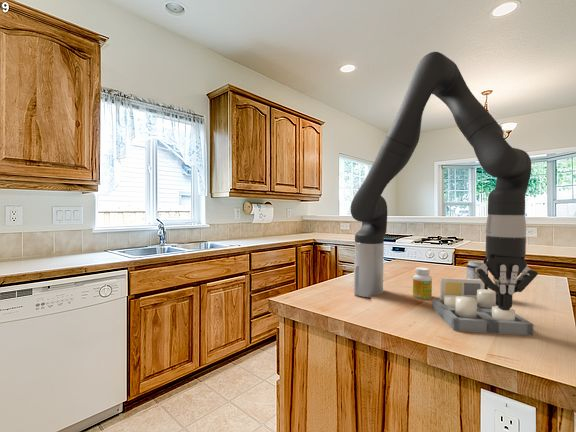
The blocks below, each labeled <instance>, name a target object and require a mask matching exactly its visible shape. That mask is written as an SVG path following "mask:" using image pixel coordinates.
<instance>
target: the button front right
mask: <svg viewBox="0 0 576 432" xmlns="http://www.w3.org/2000/svg"><path fill="white" fill-rule="evenodd" d="M515 314H516V309H514V308H512V307H511V308H510V310H501V309H500V308H498V306H493V307H492V317H493V318H494V319H495V320H504V321H515Z"/></svg>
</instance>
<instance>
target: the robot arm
mask: <svg viewBox="0 0 576 432" xmlns="http://www.w3.org/2000/svg"><path fill="white" fill-rule="evenodd" d="M431 95H434V96H435V97H437V98H438V99H439V100H440V101H441V102H443V103H444V105H446V107H447V108H448V109H449V110H450V112H451V114H452V116H453V120H454V122H455V124H456V126H457V128H458V130H459V131H460V132H461V134H462V135H463V136H464V138H465V139H466V141H467V142H468V143H469V144H470V146H471V147H472V148H473V150H474V154H475V156H476V159H477V161H478V163H479V164H480V166H481V168H482V169H483V171H484V172H486V173H487V174H488V175H489V176H490V177H493V178H496V181H495V188H494V189H493V190H492V191H490V192H489V193H488V198H487V219H486V224H485V225H486V226H485V258H484V259H483V261H484V264H483V265H481V266H480V267H475V268H474V269H473V270H474V272H475V273H476V274H477V275H478V277H479V278H480V279H481V280H482V282H483V283H484V284H485V285H486V286H487V288H488V290H492V291H495V292H496V305H497V306H498V308H500V309H501V310H510V308H511V309H512V307H513V295H514V294H515V293H522V292H523V291H524V290H525V289H526V288H527V287H528V286H529V285H530V284H531V282H532V281H533V280H535V278H536V277H537V276H538V275H539V273H538V271H537V270H534V269H531V267H529V266H528V263H527V261H526V259H525V257H526V253H527V250H526V249H527V245H526V244H527V221H526V194H527V191H528V187H529V182H530V177H531V175H532V160H531V157H530V155H529V153H527V151H525V150H523V149H520V148H517V147H516V148H515V147H512V145H510V144H509V143H508V142H507V140H506V139H505V137H504V130H503V128H502V126H501V125H500V124H499V123H498V122H497V120H496V119H495V118H494V117H493V115H492V114H490V111H488V110H487V109H486V107H485V106H484V105H483V104H481V102H480V101H479V100H478V99H477V98H476V96H475V95H474V94H473V93H472V91H471V90H470V88H469V86H468V85H467V83H466V81H465V79H464V77H463V75H462V73H461V71H460V69H459V67H458V65H457V64H456V62H455V61H453V60H452V59H450V58H449V57H447V56H446V55H445V54H443V53H442V52H439V51H431V52H429V53H427V54H426V55H424V56H423V57H422V58H421V59H420V61H419V62H418V63H417V65H416V66H415V69H414V70H413V73H412V75H411V77H410V81H409V84H408V86H407V89H406V91H405V94H404V97H403V98H402V99H403V100H402V101H401V104H400V106H399V108H398V111H397V112H396V115H395V118H394V120H393V121H392V124H391V125H390V128H389V130H388V132H387V134H386V136H385V137H384V140H383V142H382V144H381V145H380V148H379V150H378V152H377V155H376V157H375V158H374V161H373V163H372V165H371V167H370V170H369V171H368V173H367V175H366V177H365V178H364V180H363V182H362V184H361V185H360V187H359V189H358V190H357V192H356V193H355V195H354V197H353V198H352V201H351V203H350V208H349V209H350V214H351V217H352V218H353V220H355V221H357V222H360V223H361V227H360V229H359V230H358V231H357V232H356V233H355V235H354V263H353V292H354V293H353V294H354V296H358V297H362V298H371V296H380V295H382V294H384V257H385V256H384V250H385V249H384V248H385V246H384V245H385V244H384V239H385V236H386V234H387V228H388V227H387V226H388V204H387V201H386V199H385V197H383V192H384V191H385V189H386V187H388V184H389V183H390V182H391V181H392V180H394V178H395V177H396V176H397V175H398V174H399V173H400V172H401V171H402V170H403V169H404V167H406V165H407V164H408V163H409V161H410V159H411V158H412V156H413V154H414V152H415V150H416V148H417V146H418V143H419V141H420V138H421V129H422V128H421V127H422V119H423V114H424V111H425V107H426V105H427V103H428V101H429V100H430V98H431ZM487 269H488V271H487ZM489 273H490V274H491V275H492V279H491V278H490V277H489ZM487 274H488V276H487ZM492 280H493V281H492Z"/></svg>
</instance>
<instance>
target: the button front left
mask: <svg viewBox="0 0 576 432" xmlns="http://www.w3.org/2000/svg"><path fill="white" fill-rule="evenodd" d="M455 315H456V316H458V317H461V318H471V319H476V318H477V299H475V298H471V297H466V296H457V297H456V302H455Z"/></svg>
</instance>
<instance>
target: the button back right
mask: <svg viewBox="0 0 576 432" xmlns="http://www.w3.org/2000/svg"><path fill="white" fill-rule="evenodd" d="M477 306H478V307H480V308H483V309H492V307H493V306H497V305H496V292H495V291H493V290H491V289H488V290H487V289H478V290H477Z"/></svg>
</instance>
